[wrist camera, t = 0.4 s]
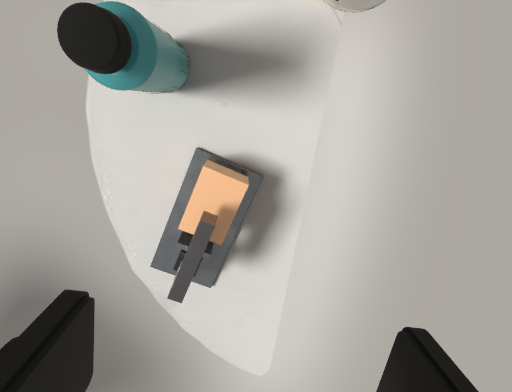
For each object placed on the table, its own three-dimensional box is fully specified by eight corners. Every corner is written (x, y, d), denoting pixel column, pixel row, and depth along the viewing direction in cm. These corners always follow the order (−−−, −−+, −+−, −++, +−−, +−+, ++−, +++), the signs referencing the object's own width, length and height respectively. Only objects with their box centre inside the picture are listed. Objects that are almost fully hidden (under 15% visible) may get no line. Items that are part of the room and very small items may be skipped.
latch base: (196, 147, 41) (191, 153, 36) (262, 175, 42) (264, 184, 38) (151, 264, 46) (142, 280, 42) (211, 285, 48) (207, 303, 43)
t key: (206, 200, 38) (199, 219, 32) (220, 206, 39) (216, 226, 32) (178, 268, 41) (166, 298, 35) (191, 273, 42) (182, 303, 35)
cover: (207, 159, 39) (203, 165, 35) (248, 177, 40) (248, 185, 36) (184, 217, 42) (177, 228, 38) (223, 232, 42) (221, 245, 39)
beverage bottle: (199, 49, 37) (150, -4, 18) (185, 102, 39) (128, 104, 20) (147, 30, 36) (37, -48, 17) (136, 85, 38) (26, 70, 19)
